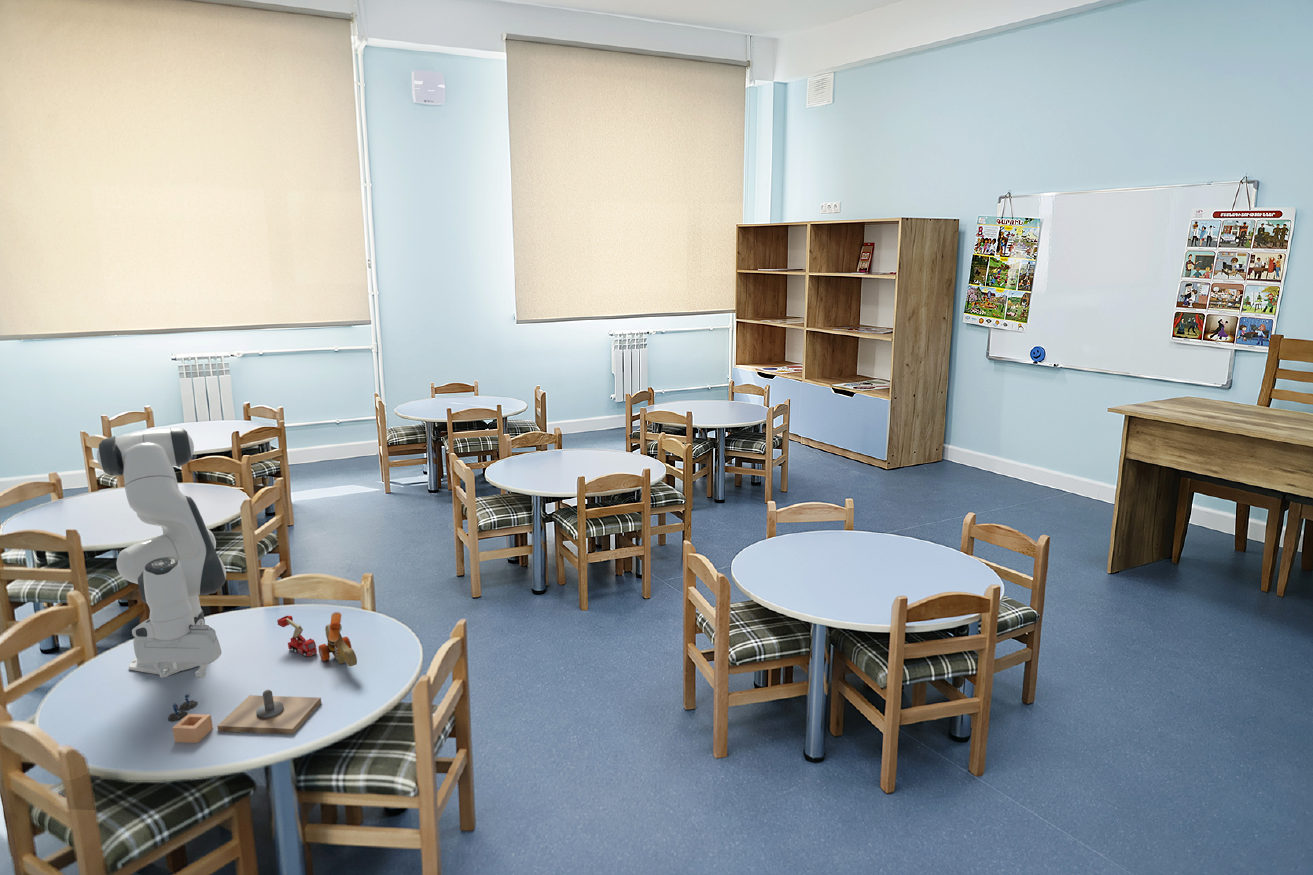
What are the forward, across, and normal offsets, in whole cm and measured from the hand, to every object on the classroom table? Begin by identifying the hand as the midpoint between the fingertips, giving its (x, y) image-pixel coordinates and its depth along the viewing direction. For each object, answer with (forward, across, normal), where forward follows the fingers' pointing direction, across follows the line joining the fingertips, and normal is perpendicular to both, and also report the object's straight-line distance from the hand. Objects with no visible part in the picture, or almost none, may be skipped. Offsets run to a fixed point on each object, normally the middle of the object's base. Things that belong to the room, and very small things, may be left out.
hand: (183, 676), depth 200 cm
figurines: (+17, +10, -10) cm, 22 cm away
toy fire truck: (+16, -4, -43) cm, 46 cm away
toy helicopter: (+17, -21, -36) cm, 45 cm away
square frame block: (+16, 0, 0) cm, 16 cm away
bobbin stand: (+16, -15, -9) cm, 24 cm away
